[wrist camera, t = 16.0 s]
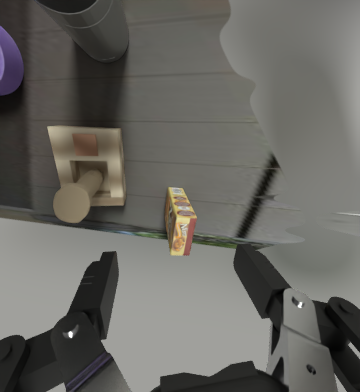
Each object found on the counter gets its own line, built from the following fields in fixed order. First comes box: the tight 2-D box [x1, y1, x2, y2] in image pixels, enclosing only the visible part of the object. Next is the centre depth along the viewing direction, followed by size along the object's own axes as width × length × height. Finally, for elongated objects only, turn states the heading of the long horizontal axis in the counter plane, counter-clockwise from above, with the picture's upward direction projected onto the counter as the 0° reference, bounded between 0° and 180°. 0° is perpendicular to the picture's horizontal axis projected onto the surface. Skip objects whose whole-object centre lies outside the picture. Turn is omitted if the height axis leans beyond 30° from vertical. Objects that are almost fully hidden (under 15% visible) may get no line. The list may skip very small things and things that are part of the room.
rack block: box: [47, 126, 126, 206], centre depth 38 cm, size 16×12×5 cm
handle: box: [53, 168, 104, 223], centre depth 33 cm, size 5×6×15 cm
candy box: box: [164, 187, 197, 255], centre depth 40 cm, size 9×4×15 cm, turn 172°
